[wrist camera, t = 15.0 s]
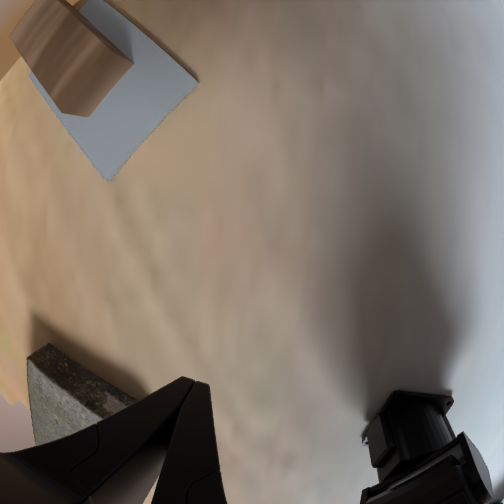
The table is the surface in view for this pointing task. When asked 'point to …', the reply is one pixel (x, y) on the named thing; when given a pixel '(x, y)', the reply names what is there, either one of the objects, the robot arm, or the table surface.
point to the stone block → (67, 395)
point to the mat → (125, 94)
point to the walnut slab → (68, 56)
